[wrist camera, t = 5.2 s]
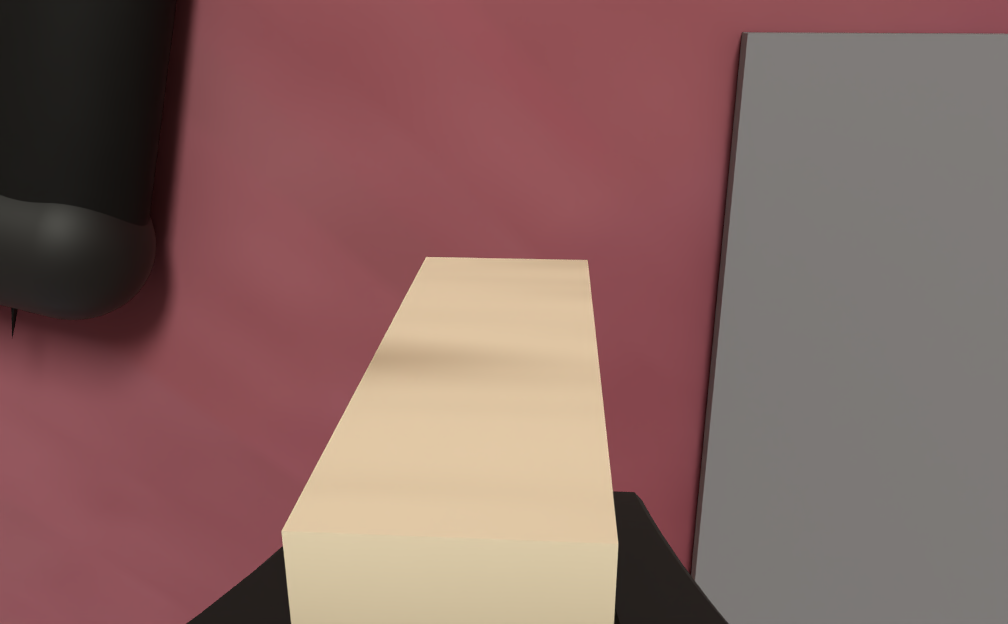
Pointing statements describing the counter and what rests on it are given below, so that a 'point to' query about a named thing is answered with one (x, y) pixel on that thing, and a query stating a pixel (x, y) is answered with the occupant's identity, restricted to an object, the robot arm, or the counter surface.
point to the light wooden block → (467, 462)
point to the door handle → (79, 151)
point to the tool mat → (861, 336)
